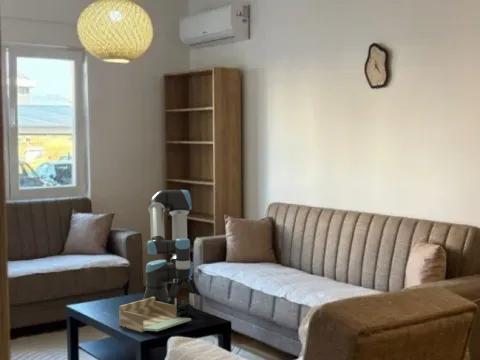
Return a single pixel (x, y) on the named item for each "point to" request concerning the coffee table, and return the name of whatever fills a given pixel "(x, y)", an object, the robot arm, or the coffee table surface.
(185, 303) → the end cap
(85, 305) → the coffee table surface
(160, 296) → the robot arm
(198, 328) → the coffee table surface
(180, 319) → the panel
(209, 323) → the coffee table surface
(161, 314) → the wooden tray box
